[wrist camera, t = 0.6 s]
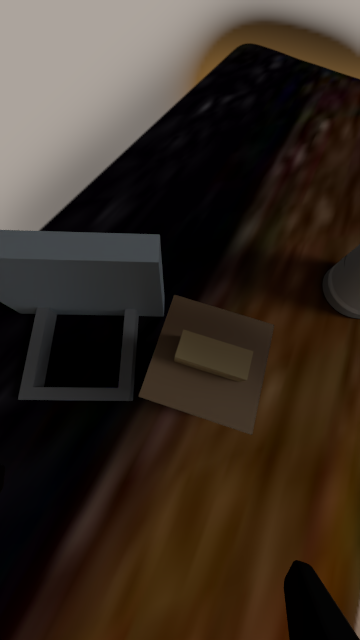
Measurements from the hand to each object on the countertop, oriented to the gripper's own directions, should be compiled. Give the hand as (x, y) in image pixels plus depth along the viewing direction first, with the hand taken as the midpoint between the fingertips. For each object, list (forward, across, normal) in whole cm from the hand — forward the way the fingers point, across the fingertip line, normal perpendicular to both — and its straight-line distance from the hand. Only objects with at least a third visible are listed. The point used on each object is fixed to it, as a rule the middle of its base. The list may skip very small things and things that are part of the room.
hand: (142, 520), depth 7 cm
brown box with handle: (+15, -1, +3) cm, 15 cm away
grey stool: (+15, +9, +3) cm, 18 cm away
